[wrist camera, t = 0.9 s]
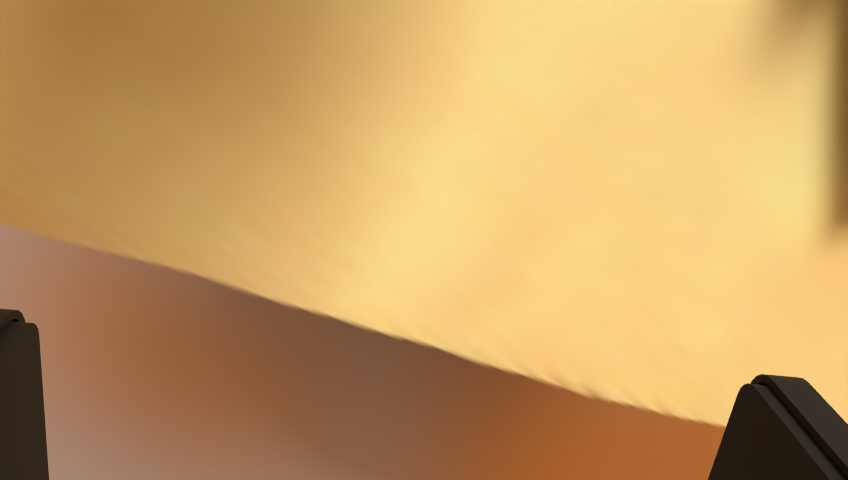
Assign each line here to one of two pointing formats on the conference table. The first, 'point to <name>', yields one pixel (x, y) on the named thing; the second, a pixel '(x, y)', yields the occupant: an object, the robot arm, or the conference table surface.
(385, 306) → the conference table surface
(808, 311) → the conference table surface
